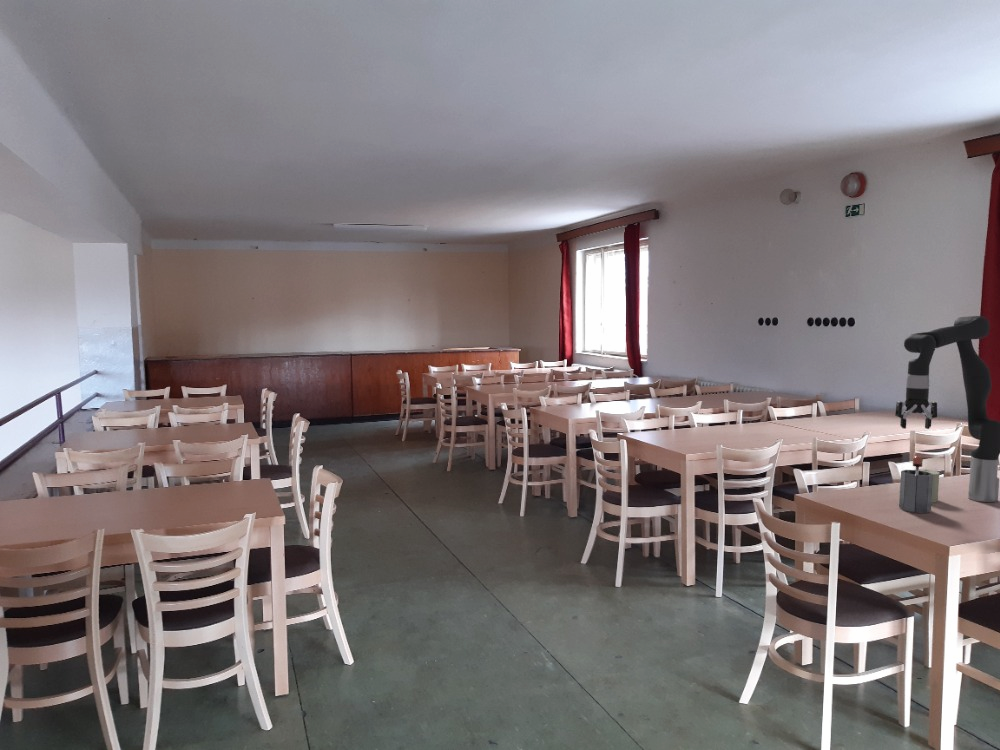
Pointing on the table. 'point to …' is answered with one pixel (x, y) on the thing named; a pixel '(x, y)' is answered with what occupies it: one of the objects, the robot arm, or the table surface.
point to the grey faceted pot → (916, 491)
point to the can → (934, 484)
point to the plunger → (917, 463)
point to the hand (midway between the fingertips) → (915, 428)
